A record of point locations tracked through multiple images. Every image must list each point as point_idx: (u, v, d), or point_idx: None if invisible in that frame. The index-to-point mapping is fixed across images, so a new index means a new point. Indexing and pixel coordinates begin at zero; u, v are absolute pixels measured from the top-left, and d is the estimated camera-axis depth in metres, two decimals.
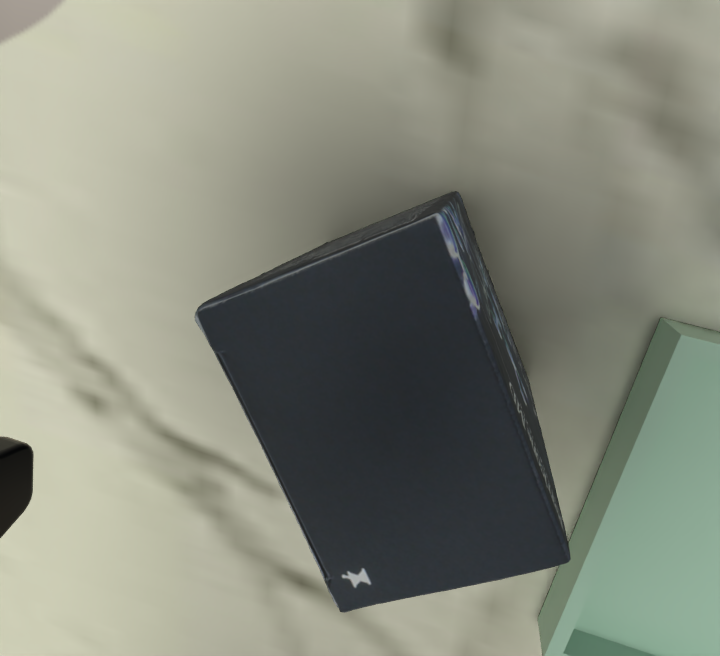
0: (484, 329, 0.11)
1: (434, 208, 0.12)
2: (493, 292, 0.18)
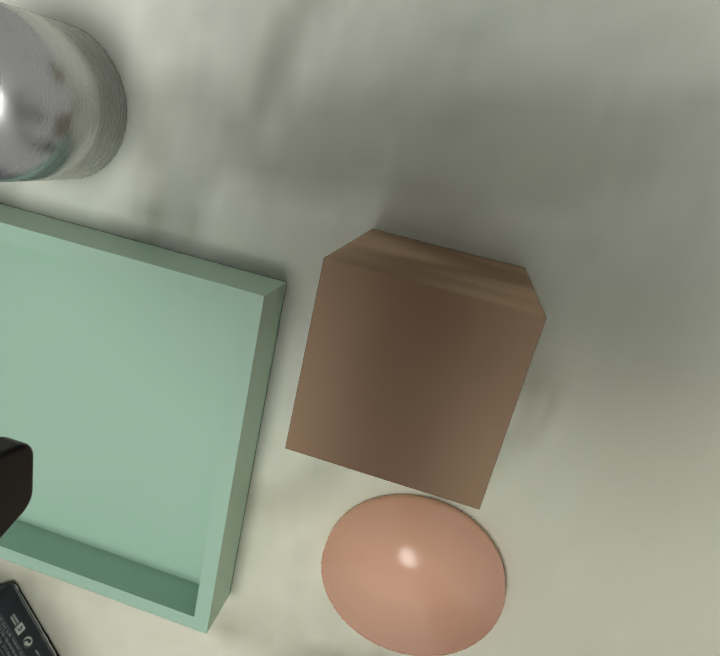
0: None
1: None
2: None
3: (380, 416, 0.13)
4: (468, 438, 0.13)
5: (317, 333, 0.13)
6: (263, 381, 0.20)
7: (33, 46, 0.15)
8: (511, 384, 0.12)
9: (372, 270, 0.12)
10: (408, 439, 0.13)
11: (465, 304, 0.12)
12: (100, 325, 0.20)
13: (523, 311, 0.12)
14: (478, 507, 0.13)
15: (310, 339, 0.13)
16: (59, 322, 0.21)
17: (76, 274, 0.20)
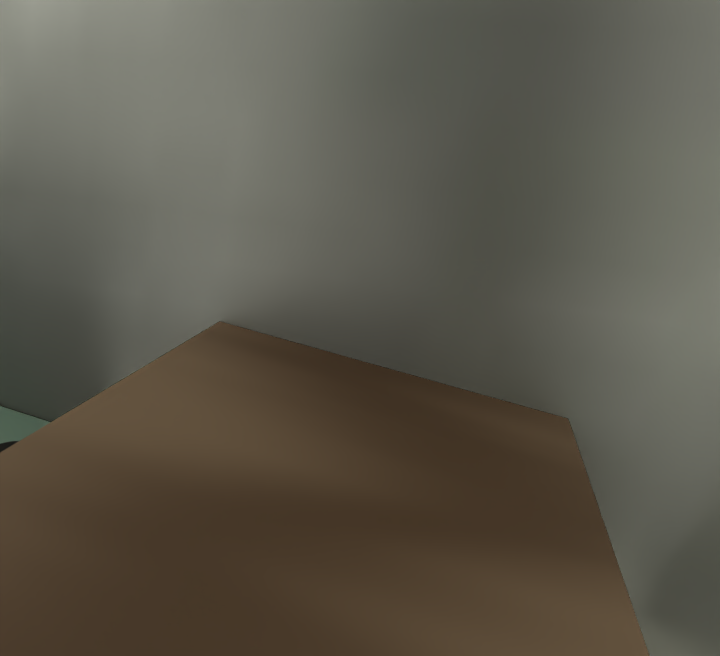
0: None
1: None
2: None
3: None
4: None
5: None
6: None
7: None
8: None
9: None
10: None
11: None
12: None
13: None
14: None
15: None
16: None
17: None
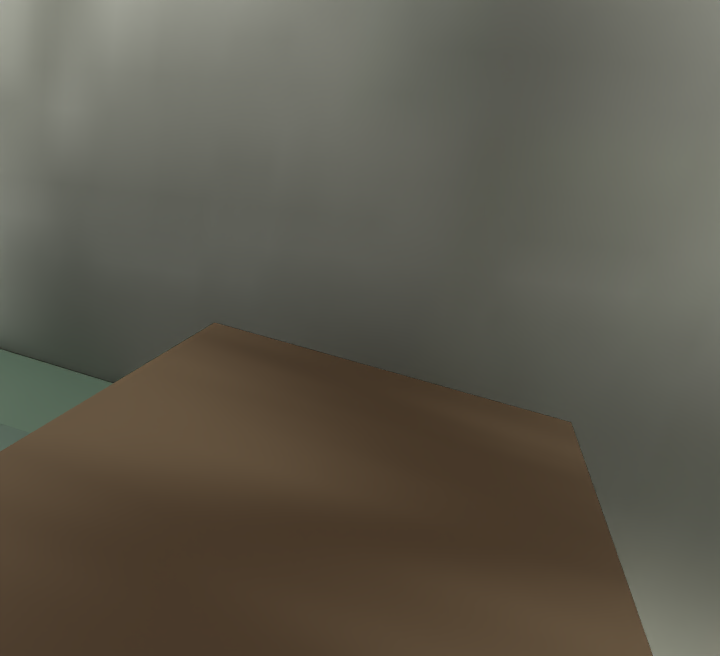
0: None
1: None
2: None
3: None
4: None
5: None
6: None
7: None
8: None
9: None
10: None
11: None
12: None
13: None
14: None
15: None
16: None
17: None
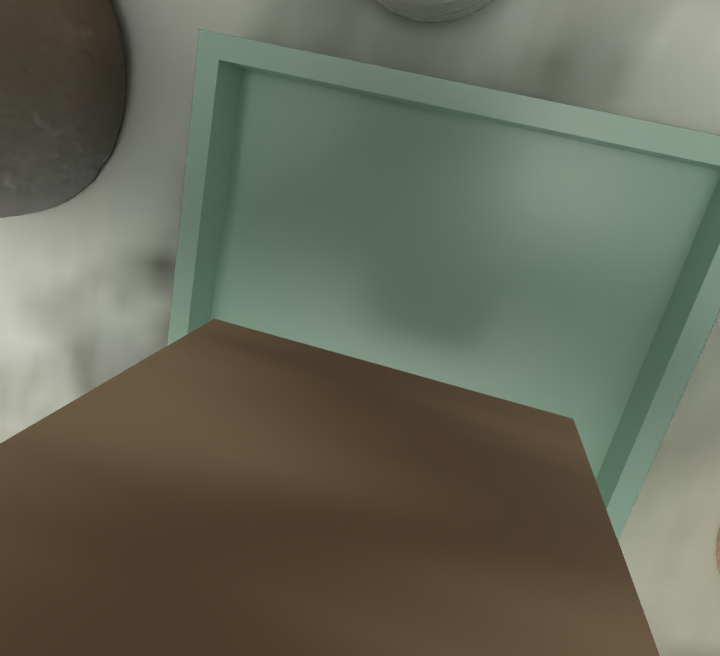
0: None
1: None
2: None
3: None
4: None
5: None
6: None
7: None
8: None
9: None
10: None
11: None
12: (460, 223, 0.15)
13: None
14: None
15: None
16: (398, 222, 0.16)
17: (437, 152, 0.15)
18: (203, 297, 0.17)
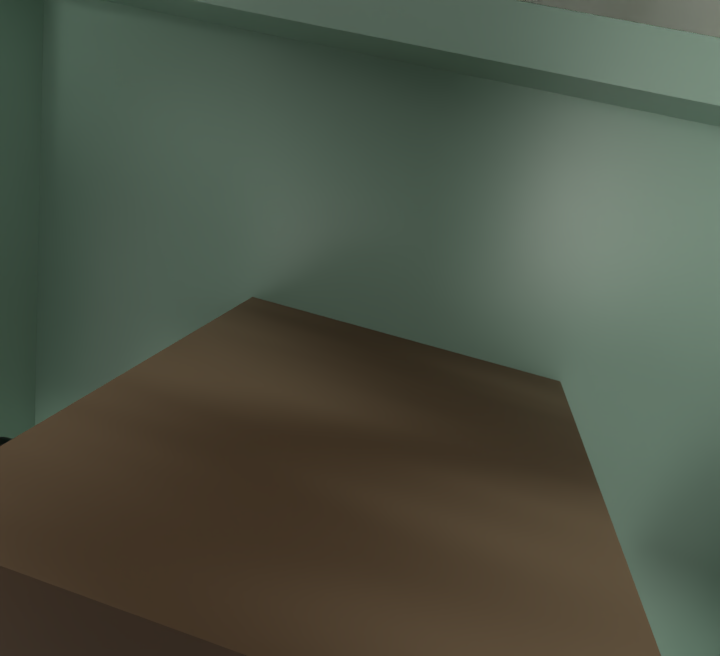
0: None
1: None
2: None
3: None
4: None
5: None
6: None
7: None
8: None
9: (45, 572, 0.03)
10: None
11: None
12: (448, 275, 0.08)
13: None
14: None
15: None
16: (336, 271, 0.09)
17: (404, 143, 0.08)
18: (5, 395, 0.10)
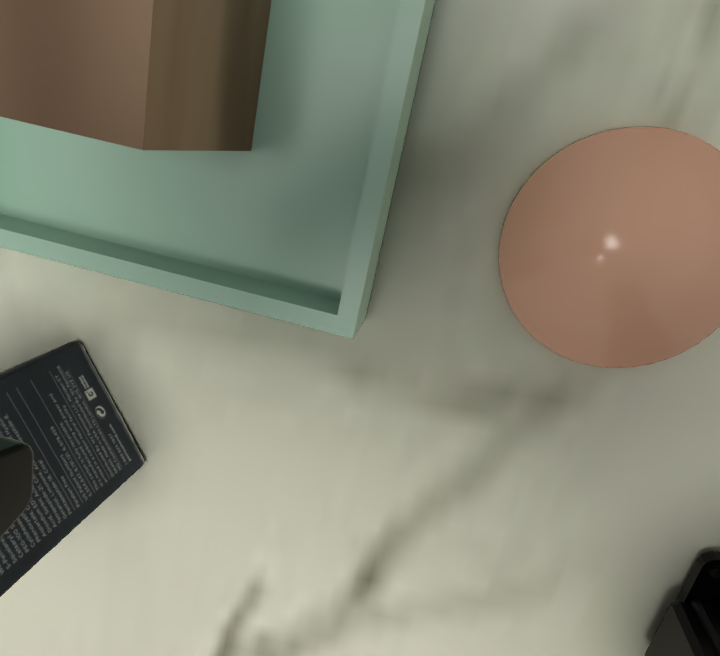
0: None
1: None
2: None
3: (17, 36, 0.11)
4: (114, 50, 0.11)
5: None
6: None
7: None
8: None
9: None
10: (52, 63, 0.11)
11: None
12: None
13: None
14: (142, 148, 0.11)
15: None
16: None
17: None
18: None
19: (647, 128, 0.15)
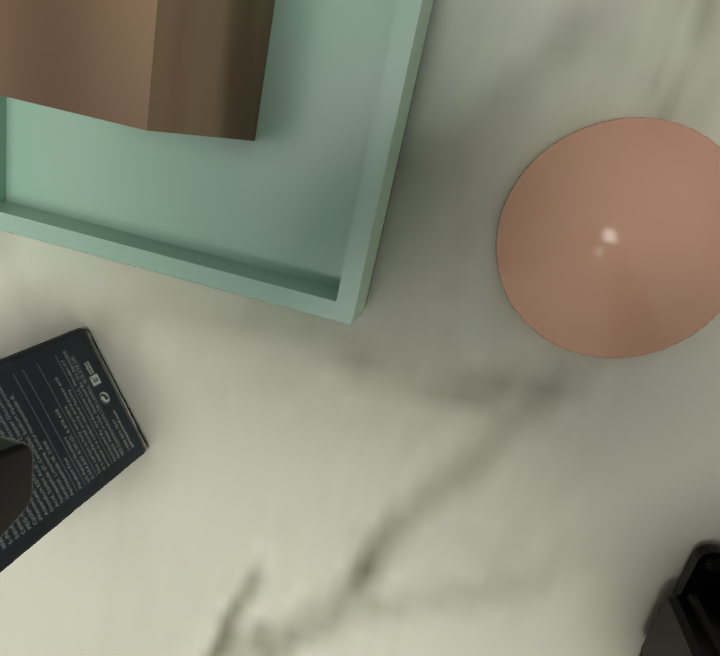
0: None
1: None
2: None
3: (29, 20, 0.12)
4: (120, 34, 0.11)
5: None
6: None
7: None
8: None
9: None
10: (61, 46, 0.12)
11: None
12: None
13: None
14: (146, 128, 0.12)
15: None
16: None
17: None
18: None
19: (641, 119, 0.15)
